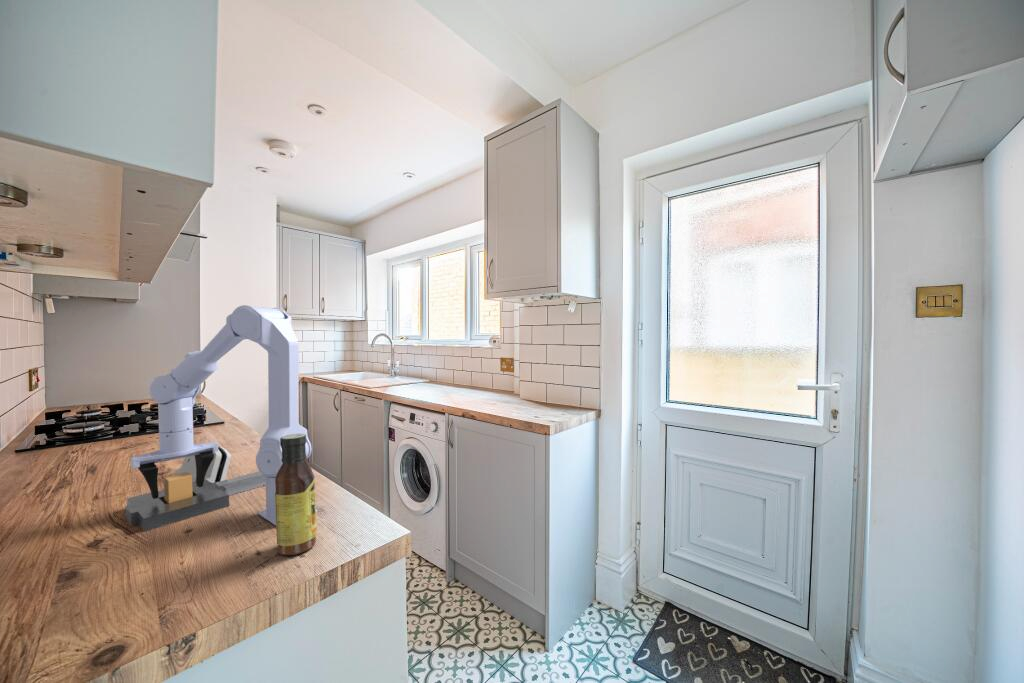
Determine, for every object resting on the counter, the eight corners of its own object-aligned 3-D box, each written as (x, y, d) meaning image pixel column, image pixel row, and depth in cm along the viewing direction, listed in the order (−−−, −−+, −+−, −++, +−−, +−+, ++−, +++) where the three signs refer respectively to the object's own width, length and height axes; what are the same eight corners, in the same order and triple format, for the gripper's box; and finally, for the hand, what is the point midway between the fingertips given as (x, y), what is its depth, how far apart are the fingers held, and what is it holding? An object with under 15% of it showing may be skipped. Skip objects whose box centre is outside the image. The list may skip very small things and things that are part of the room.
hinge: (171, 477, 105) (185, 439, 108) (191, 478, 109) (204, 441, 112) (202, 489, 97) (216, 447, 100) (222, 489, 101) (236, 449, 104)
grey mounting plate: (286, 488, 97) (286, 476, 97) (137, 533, 76) (136, 518, 76) (260, 474, 107) (259, 463, 107) (120, 511, 85) (120, 497, 85)
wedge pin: (192, 507, 87) (192, 475, 87) (169, 513, 84) (168, 481, 84) (187, 502, 90) (186, 471, 89) (164, 508, 86) (163, 477, 86)
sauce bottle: (321, 547, 70) (319, 436, 69) (282, 562, 66) (279, 443, 65) (310, 534, 75) (307, 429, 74) (272, 546, 70) (269, 435, 70)
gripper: (210, 421, 95) (212, 477, 95) (126, 434, 83) (128, 498, 83) (220, 425, 90) (222, 484, 91) (134, 439, 79) (136, 506, 79)
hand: (178, 491), depth 87 cm, fingers open, 7 cm apart
